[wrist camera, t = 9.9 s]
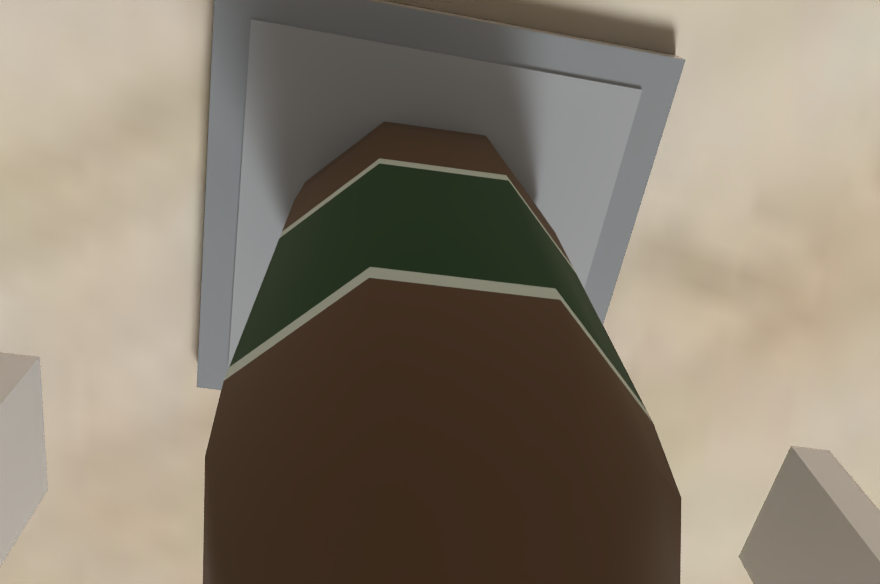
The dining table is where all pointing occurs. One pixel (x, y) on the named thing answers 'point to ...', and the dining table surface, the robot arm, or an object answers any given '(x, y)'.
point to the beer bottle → (430, 393)
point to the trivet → (420, 104)
